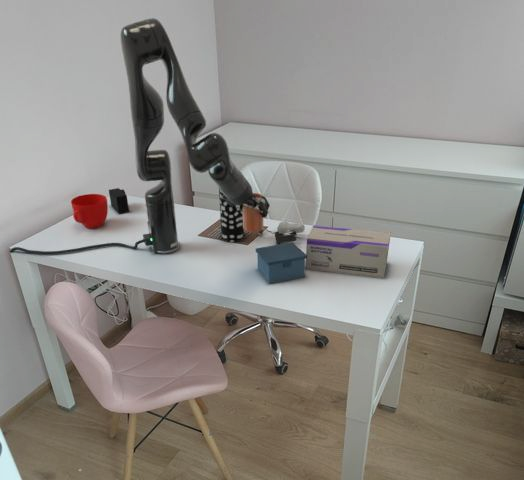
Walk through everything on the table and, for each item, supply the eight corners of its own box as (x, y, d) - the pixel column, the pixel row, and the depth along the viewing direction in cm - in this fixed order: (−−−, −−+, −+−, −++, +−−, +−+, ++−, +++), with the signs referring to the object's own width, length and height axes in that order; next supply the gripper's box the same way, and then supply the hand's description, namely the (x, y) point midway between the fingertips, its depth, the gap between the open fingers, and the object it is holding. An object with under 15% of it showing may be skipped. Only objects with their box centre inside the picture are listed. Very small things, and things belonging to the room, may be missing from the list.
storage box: (268, 284, 167) (268, 262, 162) (255, 269, 175) (255, 248, 171) (306, 277, 170) (307, 255, 166) (292, 263, 179) (292, 242, 174)
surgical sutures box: (305, 268, 175) (306, 238, 169) (312, 255, 184) (313, 225, 177) (383, 278, 169) (387, 246, 163) (386, 263, 178) (390, 233, 172)
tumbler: (247, 233, 164) (246, 201, 158) (240, 226, 169) (239, 194, 163) (266, 230, 166) (266, 198, 160) (259, 223, 171) (258, 192, 165)
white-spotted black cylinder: (243, 242, 193) (242, 186, 181) (220, 242, 193) (217, 186, 182) (244, 232, 200) (243, 178, 188) (222, 232, 200) (219, 178, 188)
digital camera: (132, 211, 219) (129, 194, 215) (119, 214, 216) (116, 197, 212) (124, 203, 226) (121, 187, 222) (111, 206, 224) (108, 189, 220)
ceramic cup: (63, 233, 201) (57, 207, 195) (88, 217, 214) (83, 192, 208) (94, 237, 198) (88, 211, 192) (117, 220, 211) (113, 195, 205)
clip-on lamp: (251, 247, 196) (295, 246, 187) (247, 231, 193) (291, 229, 184) (266, 232, 204) (309, 231, 195) (262, 217, 201) (305, 214, 191)
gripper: (208, 193, 153) (231, 220, 169) (251, 201, 148) (272, 228, 163) (217, 170, 154) (240, 198, 169) (261, 177, 148) (280, 205, 164)
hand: (255, 212), depth 166 cm, fingers closed on tumbler, 6 cm apart
